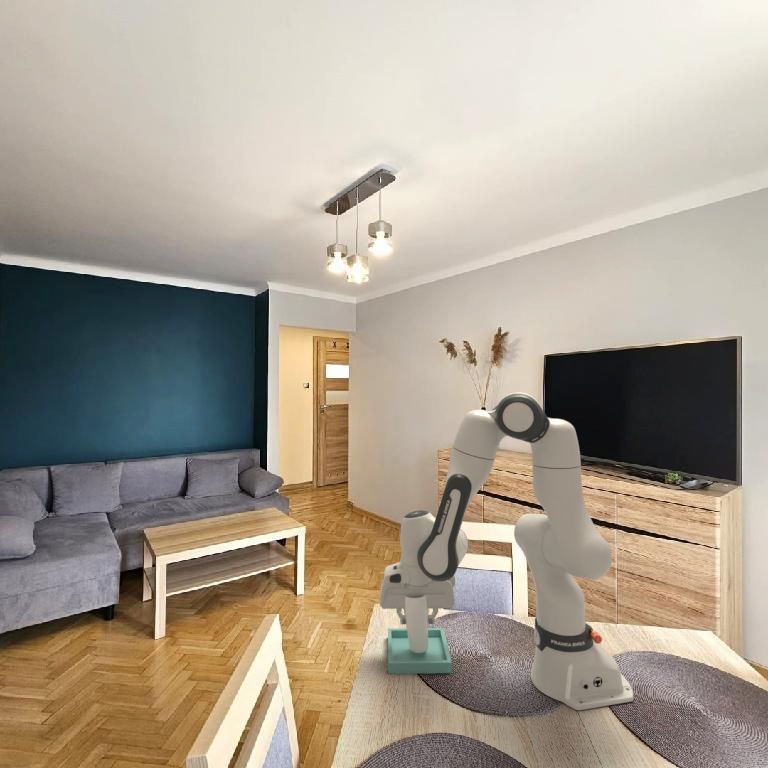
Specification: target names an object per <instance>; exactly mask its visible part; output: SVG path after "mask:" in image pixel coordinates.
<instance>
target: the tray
mask: <svg viewBox="0 0 768 768" xmlns="http://www.w3.org/2000/svg"><path fill="white" fill-rule="evenodd" d="M428 644H429V647H428V649H427V651H425V652H423V653H414V652H412V651H411V650H410V649H409V642H408V634H407V628H406V627H405V628H403V627H402V628H387V665H388V666H387V667H388V671H387V672H388V675H389V674H390V675H391V674H393V675H394V674H395V675H396V674H400V675H401V674H403V675H405V674H453V666H452V665H453V663H452V657H451V654H450V650H449V646H448V641H447V638H446V633H445V630H444V628H443V627H428Z"/></svg>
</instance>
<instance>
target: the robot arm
mask: <svg viewBox="0 0 768 768" xmlns="http://www.w3.org/2000/svg"><path fill="white" fill-rule="evenodd" d="M505 437H510V438H512V439H516V440H520V441H523V442H525V443H529V444H530V449H531V458H532V459H531V462H532V466H531V467H532V487H533V488H532V489H533V490H532V491H533V496H534V497H535V499H536V501H537V502H538V503H539V505H540V506H541V508H542V509H543V510H544V512H545V514H544V513H531V512H530V513H525V514H522V516H520V517H519V519H517V520H516V523H515V525H514V530H513V537H514V539H515V543H516V545H518V547H519V548H520V550H521V551H522V553H523V555H524V557H525V559H526V562H527V564H528V566H529V570H530V573H531V576H532V580H533V585H534V590H535V604H536V605H535V607H536V609H535V611H536V612H535V613H536V617H534V629H533V630H534V631H533V633H534V636H533V637H534V642H535V652H534V653H535V654H534V659H533V663H532V668H531V671H530V680H531V682H532V684H533V686H534V687H536V689H538V691H540V692H541V693H543V694H544V695H546V696H548V697H549V698H552V699H554V700H556V701H559V702H561V703H564V704H565V705H567V706H568V707H570V708H571V709H573V710H576V711H583V710H584V711H585V710H589V709H595V708H601V707H605V706H606V707H607V706H611V705H618V704H624V703H630V702H633V701H634V698H635V697H634V696H635V695H634V690H633V688H632V686H631V684H630V683H629V681H628V680H627V679H626V677H625V676H624V675H623V674H622V673H621V670H620V667H619V665H618V663H617V661H616V660H615V658H614V656H612V654H611V653H610V652H609V651H608V650H607V649H606V648H605V647H603V646H602V645H601V643H602V642H603V637H602V636H601V634H599V632H598V631H595V630H594V629H593V628H592V626H591V625H590V624H588V623H587V622H586V598H585V594H584V592H583V590H582V588H581V586H580V585H579V583H577V581H576V580H575V578H574V577H576V578H582V579H585V580H590V581H598V580H600V579H602V578H603V577H605V575H606V574H607V573H608V572H609V571H610V568H611V566H612V563H613V562H612V561H613V555H612V549H611V547H610V544H609V542H608V541H607V540H606V539H605V538H604V537H603V535H601V534H600V532H599V531H598V528H596V526H595V524H594V523H593V520H592V518H591V517H590V513H589V512H588V511H589V510H588V509H587V505H586V503H585V499H584V494H583V493H584V492H583V482H582V464H581V463H582V461H581V451H580V445H579V440H578V435H577V432H576V428H575V426H574V425H573V424H572V423H571V422H569V421H567V420H565V419H563V418H562V419H561V418H552V417H548V416H547V415H546V413H545V412H544V410H543V408H542V406H541V404H540V403H539V401H538V400H537V399H536V398H535V396H532V395H531V394H529V393H528V392H523V391H521V392H520V391H516V392H511V393H508V394H507V395H505V396H504V397H502V398H501V400H500V401H499V402H498V404H497V405H496V406H495V407H494V408H492V410H485V409H473V410H469V411H468V412H467V413H465V415H464V417H463V418H462V421H461V423H460V424H459V427H458V430H457V432H456V434H455V438H454V441H453V443H452V444H453V445H452V447H451V452H450V457H449V461H448V467H447V472H446V478H445V484H444V488H443V489H444V490H443V493H442V497H441V501H440V504H439V506H438V510H437V513H436V517H435V516H433V514H432V513H431V512H429V511H428V510H415V511H411V512H409V513H407V514H406V515H404V516H403V518H402V519H401V525H400V535H399V536H400V537H399V539H400V540H399V542H400V543H399V545H400V549H401V556H400V559H399V560H400V561H399V562H396V563H392V564H390V565H387V566H385V568H384V572H383V578H382V579H381V584H380V591H379V592H380V593H379V606H380V607H381V609H383V610H395V609H396V611H395V612H396V614H397V616H398V617H399V619H400V625H406V619H405V615H404V614H403V613H402V611H403V610H404V609H405V596H406V597H410V598H419V597H422V596H424V595H426V600H427V608H428V609H432V612H431V614H428V625H435V619H436V617H437V615H438V613H439V609H453V608H454V606H455V604H456V600H455V592H454V588H455V586H456V577H455V574H456V573H457V570H458V567H459V565H460V564H461V563H462V561H463V559H464V558H465V556H466V555H467V553H468V550H469V540H468V537H467V534H466V533H465V532H464V531H463V529H461V527H462V525H463V521H464V518H465V515H466V512H467V509H468V506H469V505H470V503H471V502H472V500H473V499H474V497H476V494H477V493H478V492H479V491H480V489H482V487H483V486H484V484H485V483H486V481H487V480H488V477H489V475H490V473H491V471H492V469H493V466H494V463H495V460H496V456H497V451H498V448H499V446H500V443H501V441H502V440H503V439H504V438H505Z"/></svg>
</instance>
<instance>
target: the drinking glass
mask: <svg viewBox="0 0 768 768" xmlns="http://www.w3.org/2000/svg"><path fill="white" fill-rule="evenodd" d="M403 615H405V619H406V624H405V626H406V627H405V628H407V634H408V642H409V649H410V650H411V651H412V652H414V653H423V652H425V651H427V649H428V647H429V644H428V628H429V623H428V615H429V608H427V600H426V595H424V596H422V597H419V598H410V597H406V596H405V609H403Z"/></svg>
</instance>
